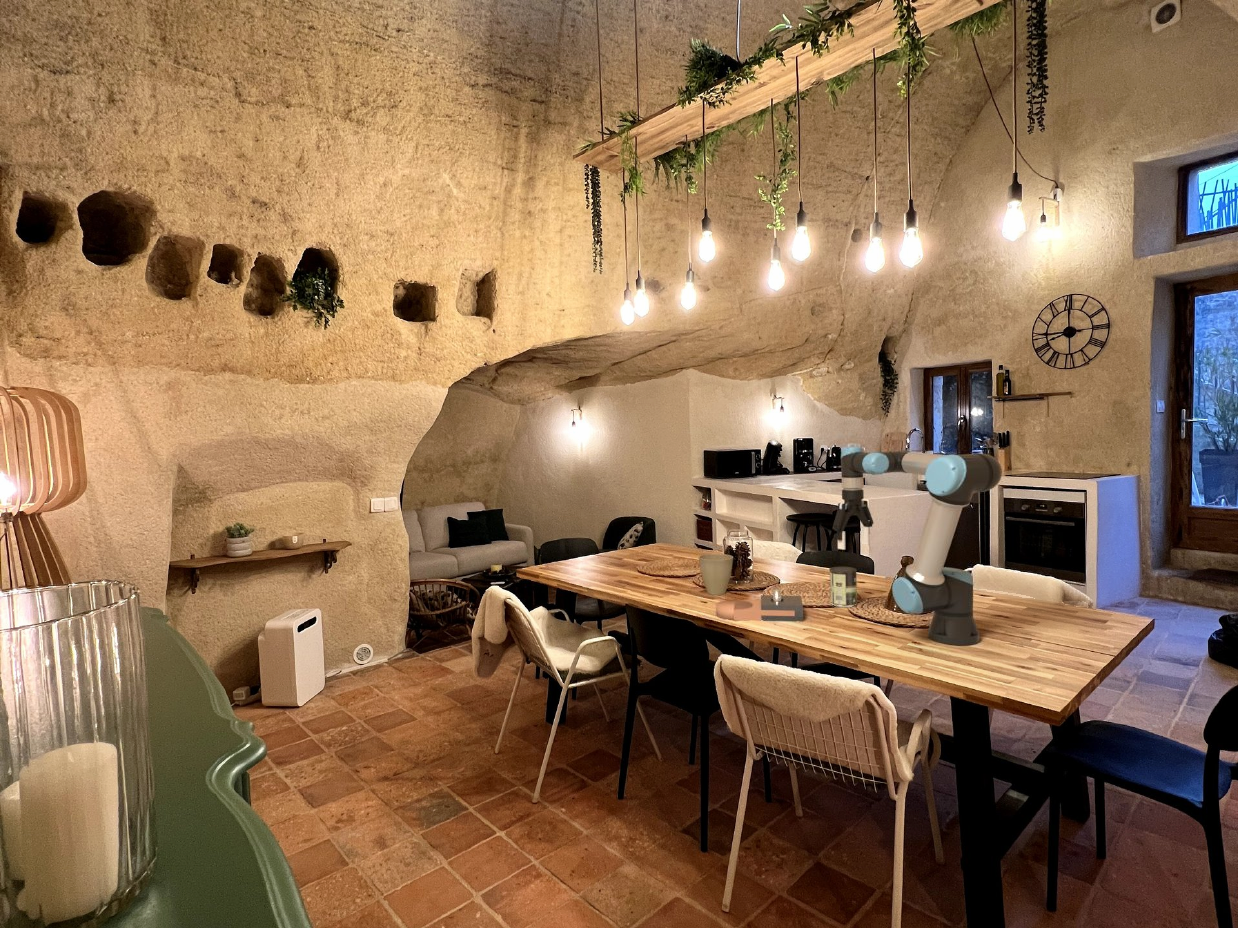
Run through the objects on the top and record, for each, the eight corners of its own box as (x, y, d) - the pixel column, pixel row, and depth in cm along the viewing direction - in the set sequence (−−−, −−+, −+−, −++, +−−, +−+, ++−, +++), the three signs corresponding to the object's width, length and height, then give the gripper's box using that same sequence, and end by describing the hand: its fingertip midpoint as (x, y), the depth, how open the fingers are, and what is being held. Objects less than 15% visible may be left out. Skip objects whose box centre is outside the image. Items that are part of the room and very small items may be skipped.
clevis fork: (803, 621, 253) (802, 605, 252) (761, 620, 256) (760, 604, 255) (801, 611, 266) (800, 595, 266) (761, 610, 269) (761, 595, 269)
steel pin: (781, 616, 260) (781, 590, 259) (773, 616, 260) (772, 590, 260) (781, 614, 262) (780, 588, 262) (773, 614, 263) (772, 588, 263)
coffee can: (855, 600, 279) (854, 566, 278) (859, 607, 268) (858, 571, 268) (828, 600, 281) (828, 566, 280) (831, 607, 271) (830, 571, 270)
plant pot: (726, 598, 289) (725, 561, 289) (693, 595, 297) (692, 558, 296) (739, 590, 302) (738, 554, 301) (708, 587, 310) (707, 552, 309)
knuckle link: (794, 621, 253) (794, 610, 253) (715, 619, 259) (714, 609, 259) (793, 611, 267) (792, 600, 267) (717, 609, 273) (717, 599, 273)
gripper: (865, 485, 262) (866, 541, 263) (821, 491, 248) (822, 549, 249) (882, 486, 256) (883, 543, 257) (838, 492, 242) (839, 552, 243)
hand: (853, 546), depth 253 cm, fingers open, 13 cm apart
